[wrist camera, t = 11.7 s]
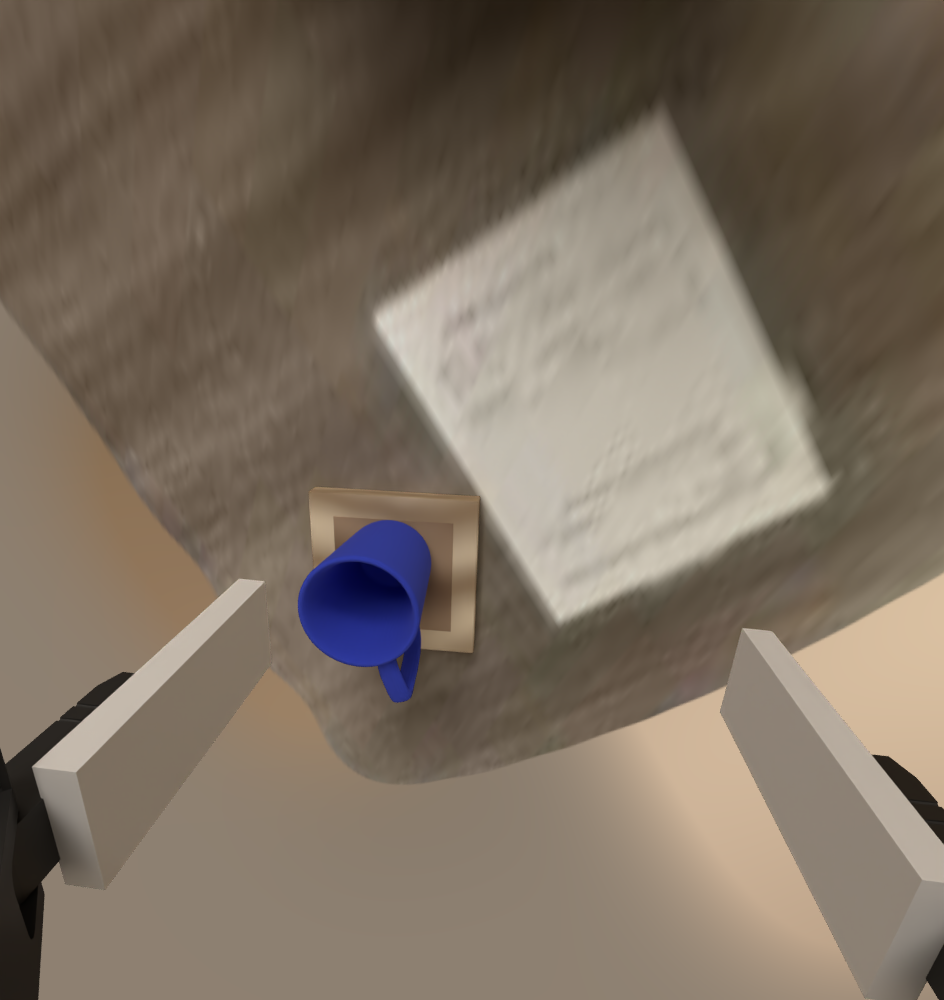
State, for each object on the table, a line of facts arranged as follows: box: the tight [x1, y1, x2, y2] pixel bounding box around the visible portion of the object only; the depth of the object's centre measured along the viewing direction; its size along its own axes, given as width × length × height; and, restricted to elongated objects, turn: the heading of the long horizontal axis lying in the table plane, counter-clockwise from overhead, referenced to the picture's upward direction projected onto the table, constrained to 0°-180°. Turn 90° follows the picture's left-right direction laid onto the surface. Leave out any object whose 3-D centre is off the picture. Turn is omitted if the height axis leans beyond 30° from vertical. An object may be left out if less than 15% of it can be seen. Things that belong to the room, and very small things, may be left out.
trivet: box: [309, 487, 480, 653], centre depth 45 cm, size 14×14×2 cm
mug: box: [298, 520, 431, 703], centre depth 39 cm, size 8×12×10 cm
